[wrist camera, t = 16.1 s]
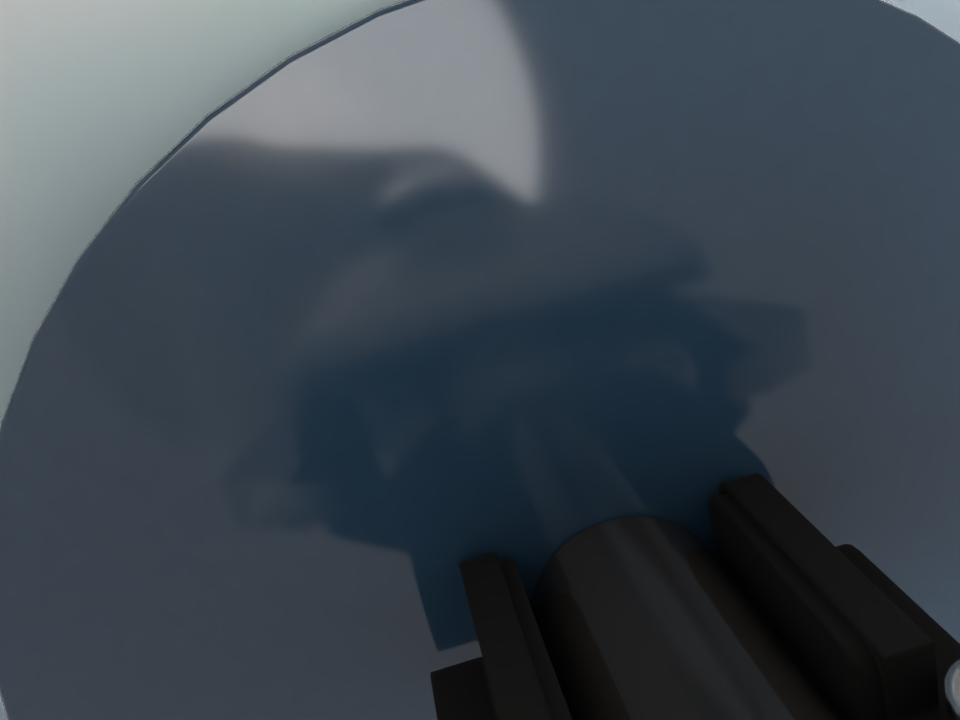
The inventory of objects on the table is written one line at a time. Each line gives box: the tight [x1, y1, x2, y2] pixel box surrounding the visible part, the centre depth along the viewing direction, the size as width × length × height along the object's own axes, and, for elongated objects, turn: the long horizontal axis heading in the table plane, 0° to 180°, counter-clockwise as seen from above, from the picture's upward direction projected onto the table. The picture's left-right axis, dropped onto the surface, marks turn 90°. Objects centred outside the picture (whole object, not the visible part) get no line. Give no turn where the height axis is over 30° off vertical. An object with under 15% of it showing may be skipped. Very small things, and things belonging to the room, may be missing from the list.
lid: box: [0, 0, 960, 720], centre depth 11 cm, size 17×17×6 cm
